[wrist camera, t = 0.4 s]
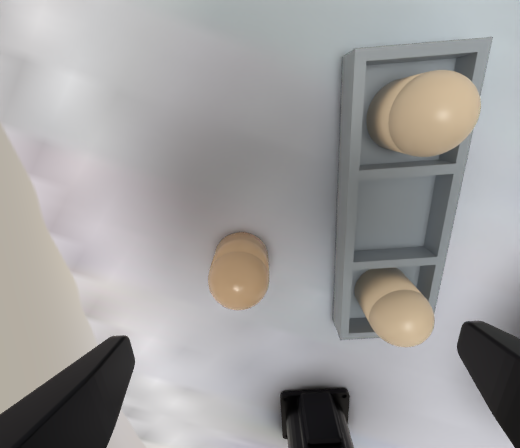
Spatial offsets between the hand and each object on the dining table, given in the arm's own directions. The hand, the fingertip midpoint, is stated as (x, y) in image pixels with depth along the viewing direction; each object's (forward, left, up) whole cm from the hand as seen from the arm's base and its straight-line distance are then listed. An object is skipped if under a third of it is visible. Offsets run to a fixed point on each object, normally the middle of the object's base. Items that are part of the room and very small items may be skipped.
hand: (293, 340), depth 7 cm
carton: (-1, -8, -13) cm, 15 cm away
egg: (-4, +3, -13) cm, 13 cm away
